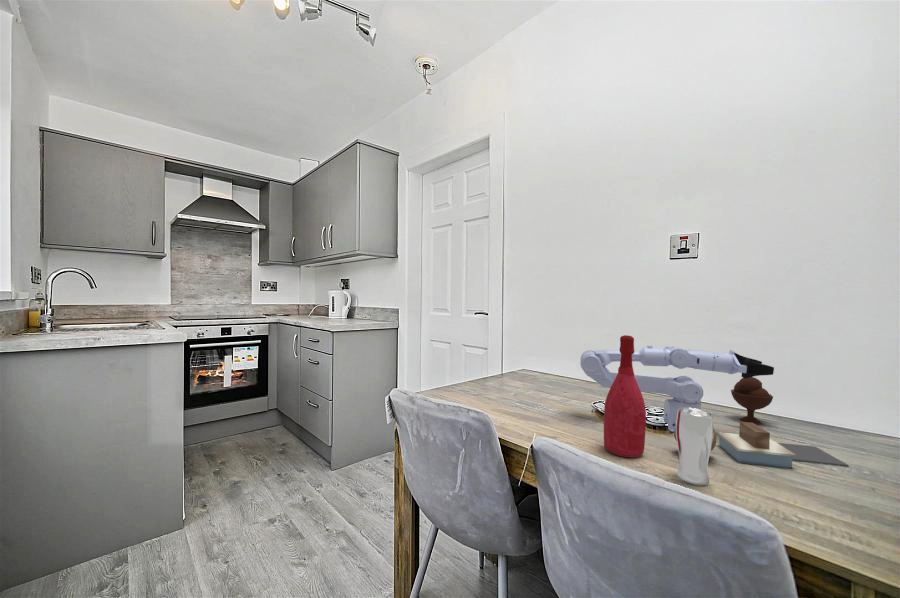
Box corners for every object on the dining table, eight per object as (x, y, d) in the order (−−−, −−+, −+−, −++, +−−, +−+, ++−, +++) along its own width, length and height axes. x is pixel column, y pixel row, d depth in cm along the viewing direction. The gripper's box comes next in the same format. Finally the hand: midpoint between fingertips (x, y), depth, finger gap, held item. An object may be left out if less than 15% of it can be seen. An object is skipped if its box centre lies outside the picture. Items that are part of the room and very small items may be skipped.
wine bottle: (627, 462, 93) (631, 338, 92) (594, 447, 101) (598, 334, 101) (653, 455, 97) (657, 337, 97) (620, 441, 106) (623, 333, 106)
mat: (780, 459, 97) (780, 457, 97) (755, 441, 108) (755, 440, 108) (848, 466, 93) (848, 465, 93) (815, 448, 105) (815, 446, 105)
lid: (737, 450, 94) (738, 432, 94) (716, 433, 105) (717, 417, 105) (796, 457, 91) (796, 438, 91) (767, 438, 102) (768, 422, 102)
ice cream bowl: (780, 428, 120) (781, 380, 120) (739, 425, 123) (741, 378, 123) (760, 418, 131) (761, 374, 131) (723, 415, 133) (724, 372, 133)
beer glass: (667, 472, 88) (669, 406, 88) (696, 471, 88) (698, 406, 88) (688, 487, 81) (691, 416, 81) (719, 487, 81) (722, 416, 81)
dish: (738, 462, 94) (739, 450, 94) (719, 445, 105) (719, 434, 105) (791, 468, 92) (792, 455, 91) (766, 450, 102) (766, 439, 102)
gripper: (721, 352, 108) (780, 359, 103) (706, 344, 121) (757, 349, 117) (718, 377, 108) (777, 384, 104) (703, 366, 122) (755, 372, 117)
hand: (767, 367), depth 110 cm, fingers open, 7 cm apart
